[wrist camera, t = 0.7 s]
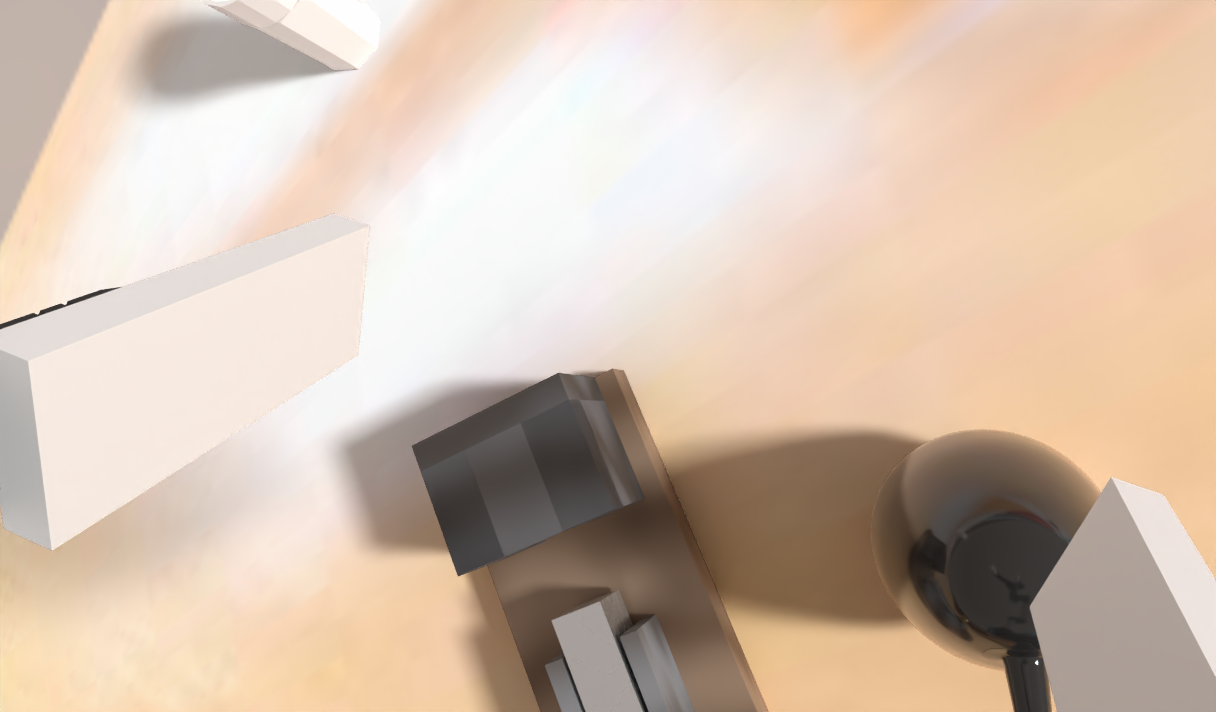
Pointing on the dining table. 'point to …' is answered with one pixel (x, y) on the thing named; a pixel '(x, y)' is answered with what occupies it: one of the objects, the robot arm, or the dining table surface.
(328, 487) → the dining table surface
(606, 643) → the bolt
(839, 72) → the dining table surface
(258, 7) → the cup
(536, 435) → the lock frame
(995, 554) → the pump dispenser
